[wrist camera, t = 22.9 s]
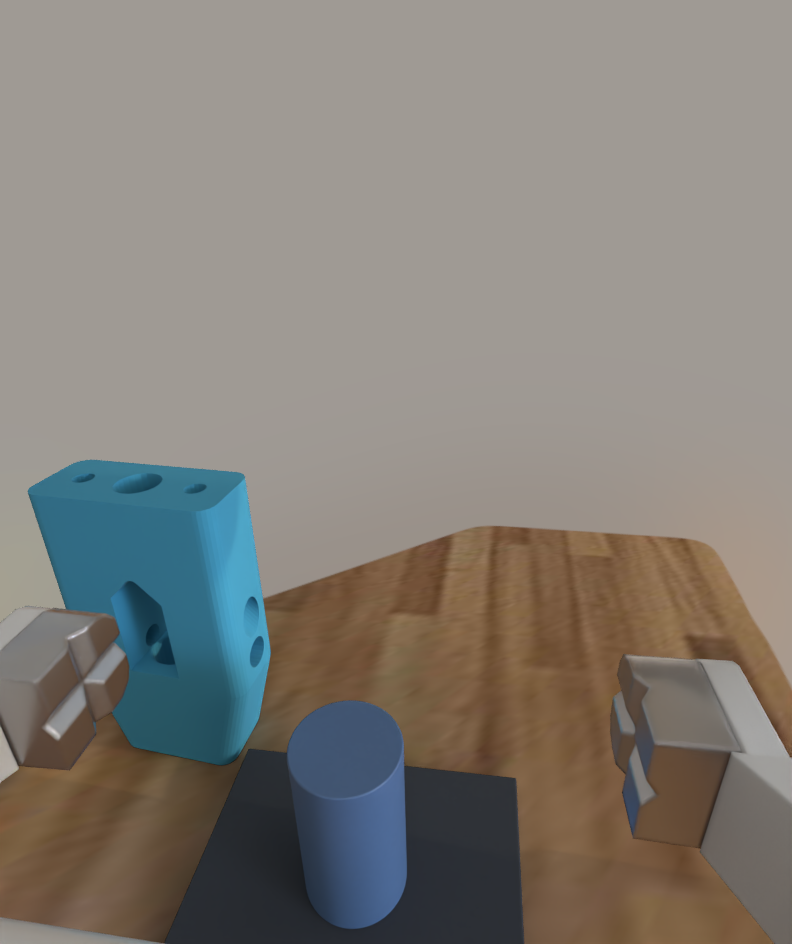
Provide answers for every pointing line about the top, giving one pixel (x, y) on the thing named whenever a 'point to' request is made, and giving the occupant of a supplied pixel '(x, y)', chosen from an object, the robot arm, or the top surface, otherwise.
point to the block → (166, 595)
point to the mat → (428, 866)
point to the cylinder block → (350, 811)
